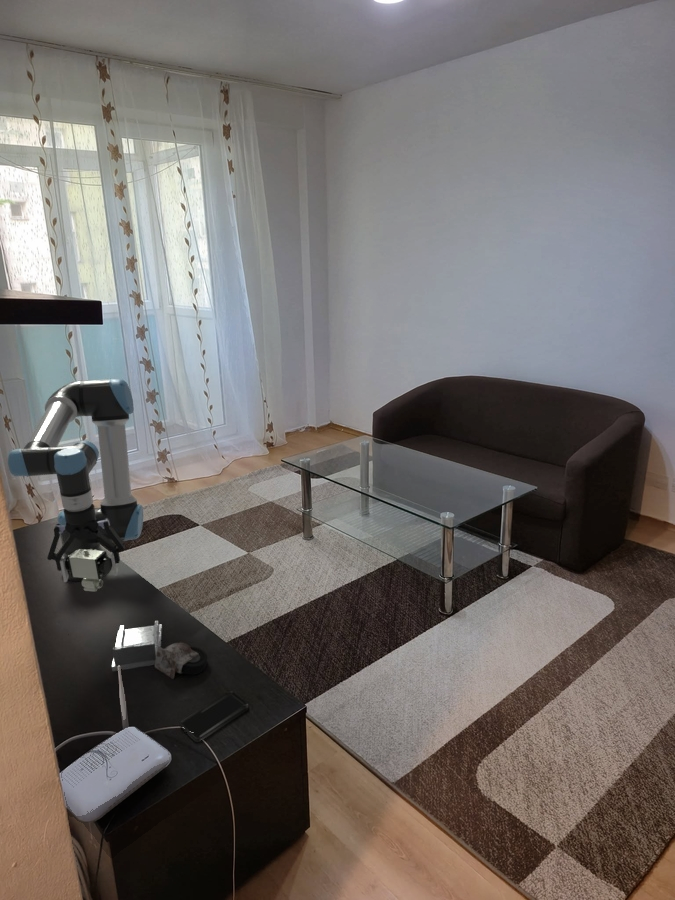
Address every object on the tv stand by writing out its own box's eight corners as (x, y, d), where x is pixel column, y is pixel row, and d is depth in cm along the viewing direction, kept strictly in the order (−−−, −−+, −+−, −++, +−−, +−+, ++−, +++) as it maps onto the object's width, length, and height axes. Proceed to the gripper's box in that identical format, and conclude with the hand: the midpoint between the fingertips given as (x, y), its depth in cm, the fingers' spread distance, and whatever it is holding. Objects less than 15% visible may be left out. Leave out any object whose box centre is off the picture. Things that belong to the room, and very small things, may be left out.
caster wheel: (210, 671, 165) (185, 689, 156) (179, 651, 170) (152, 668, 161) (215, 650, 163) (189, 667, 155) (183, 630, 168) (156, 646, 159)
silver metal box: (119, 635, 177) (115, 615, 175) (162, 628, 179) (159, 609, 177) (112, 671, 162) (109, 650, 160) (159, 663, 164) (156, 643, 162)
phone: (250, 705, 148) (196, 740, 138) (250, 709, 149) (197, 744, 138) (230, 689, 153) (177, 722, 143) (230, 693, 154) (178, 726, 144)
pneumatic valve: (107, 595, 169) (100, 556, 165) (69, 591, 171) (61, 553, 167) (118, 584, 174) (112, 546, 170) (81, 580, 176) (73, 543, 172)
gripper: (25, 517, 158) (41, 589, 165) (125, 506, 163) (136, 577, 170) (32, 505, 165) (46, 575, 172) (128, 495, 170) (138, 563, 177)
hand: (91, 576), depth 171 cm, fingers closed on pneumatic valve, 12 cm apart
